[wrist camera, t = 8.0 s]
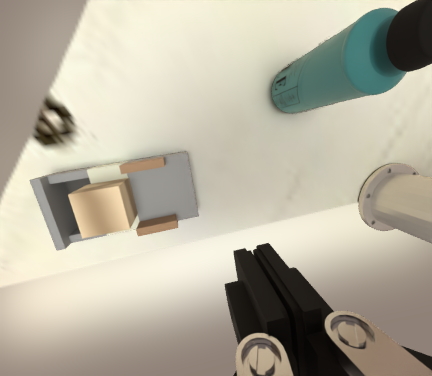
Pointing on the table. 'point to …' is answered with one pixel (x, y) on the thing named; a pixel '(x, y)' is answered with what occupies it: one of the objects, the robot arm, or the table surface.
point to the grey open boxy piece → (141, 187)
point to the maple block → (104, 207)
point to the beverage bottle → (359, 59)
